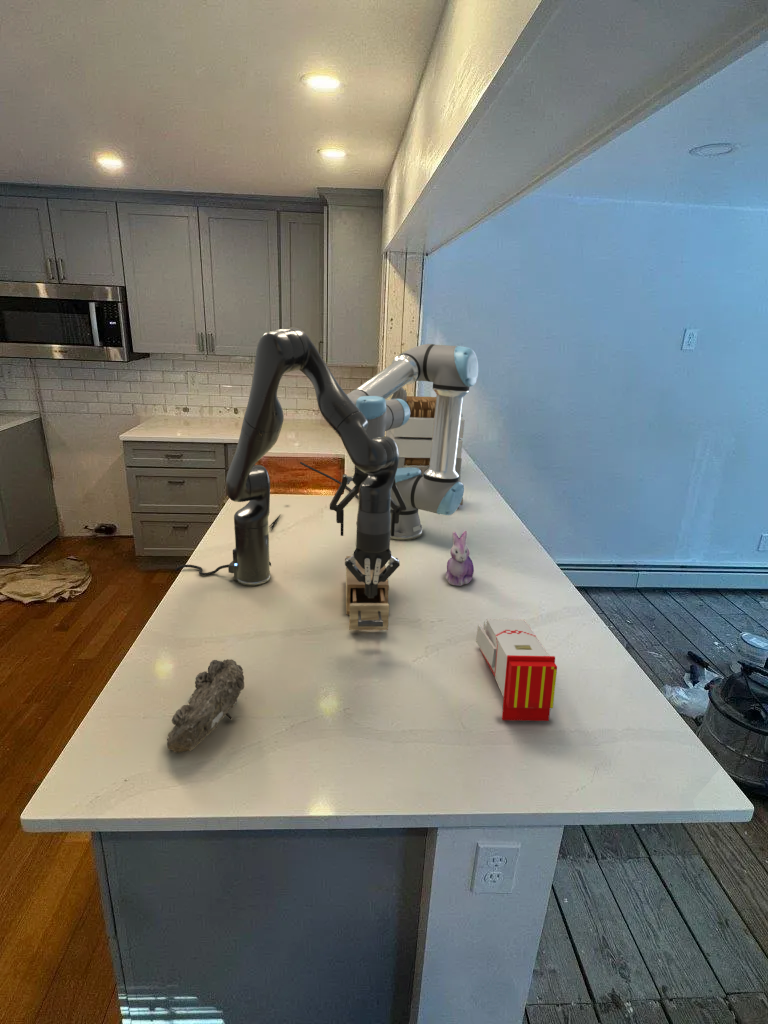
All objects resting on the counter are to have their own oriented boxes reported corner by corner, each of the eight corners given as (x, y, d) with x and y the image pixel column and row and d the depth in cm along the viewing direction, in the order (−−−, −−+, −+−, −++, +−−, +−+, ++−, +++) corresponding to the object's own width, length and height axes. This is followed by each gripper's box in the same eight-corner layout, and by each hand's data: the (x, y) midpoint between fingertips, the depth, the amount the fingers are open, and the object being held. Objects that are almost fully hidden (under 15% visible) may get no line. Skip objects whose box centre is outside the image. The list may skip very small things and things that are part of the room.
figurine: (455, 589, 161) (460, 541, 156) (436, 574, 170) (440, 528, 165) (482, 583, 166) (487, 536, 160) (462, 569, 174) (466, 524, 169)
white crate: (382, 463, 289) (386, 382, 275) (445, 464, 293) (451, 384, 279) (390, 482, 257) (394, 392, 243) (460, 483, 261) (468, 394, 247)
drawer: (389, 643, 133) (391, 617, 131) (349, 643, 132) (350, 617, 130) (383, 597, 153) (384, 575, 151) (348, 597, 153) (348, 575, 150)
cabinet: (387, 614, 147) (388, 584, 144) (346, 614, 146) (347, 584, 143) (382, 583, 163) (383, 556, 160) (345, 583, 162) (346, 555, 159)
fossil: (192, 660, 117) (244, 628, 112) (224, 691, 120) (276, 661, 115) (142, 746, 98) (202, 712, 93) (182, 779, 101) (242, 748, 96)
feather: (288, 508, 223) (290, 504, 222) (270, 532, 196) (273, 528, 196) (284, 506, 223) (286, 502, 222) (266, 530, 196) (268, 525, 195)
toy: (523, 604, 135) (566, 662, 106) (518, 656, 138) (559, 727, 109) (472, 603, 135) (501, 661, 105) (468, 655, 138) (496, 726, 108)
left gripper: (343, 533, 121) (342, 604, 127) (405, 533, 122) (400, 604, 128) (343, 520, 128) (342, 589, 134) (401, 521, 129) (397, 589, 135)
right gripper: (320, 460, 141) (320, 539, 149) (419, 462, 143) (414, 539, 151) (321, 453, 148) (321, 528, 156) (415, 454, 150) (411, 529, 158)
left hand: (370, 596), depth 131 cm, fingers closed
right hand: (367, 534), depth 153 cm, fingers open, 13 cm apart
